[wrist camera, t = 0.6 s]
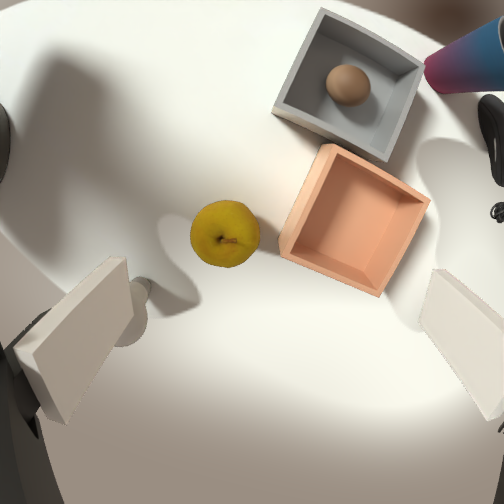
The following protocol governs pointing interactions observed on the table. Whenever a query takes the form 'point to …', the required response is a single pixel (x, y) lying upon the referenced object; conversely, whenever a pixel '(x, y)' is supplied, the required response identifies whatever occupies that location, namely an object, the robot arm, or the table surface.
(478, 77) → the cup
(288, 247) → the orange square tray
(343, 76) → the brown ball
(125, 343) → the lightbulb
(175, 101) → the table surface
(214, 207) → the apple
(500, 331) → the robot arm
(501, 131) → the computer mouse
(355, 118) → the grey square tray
